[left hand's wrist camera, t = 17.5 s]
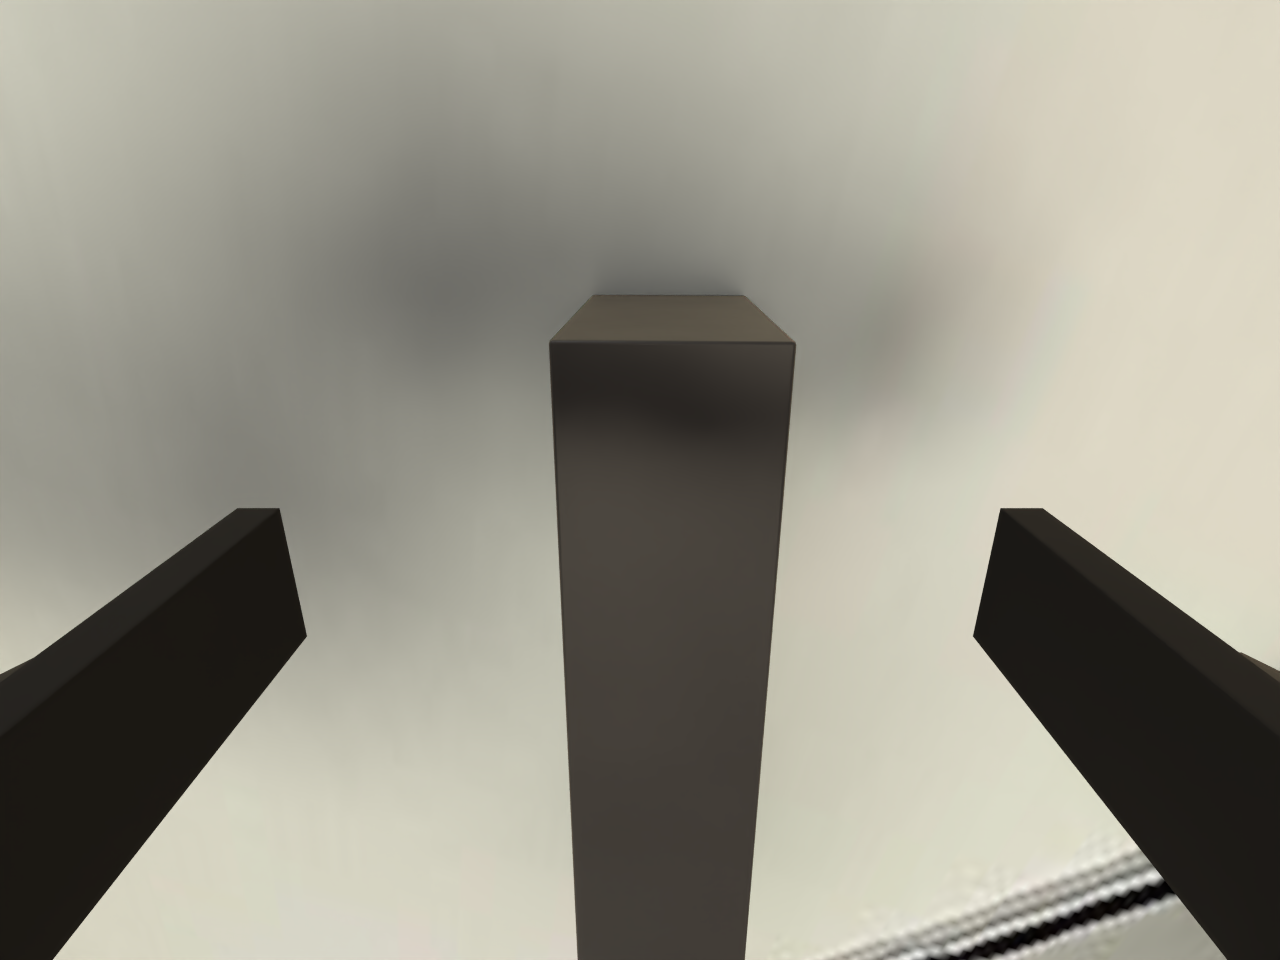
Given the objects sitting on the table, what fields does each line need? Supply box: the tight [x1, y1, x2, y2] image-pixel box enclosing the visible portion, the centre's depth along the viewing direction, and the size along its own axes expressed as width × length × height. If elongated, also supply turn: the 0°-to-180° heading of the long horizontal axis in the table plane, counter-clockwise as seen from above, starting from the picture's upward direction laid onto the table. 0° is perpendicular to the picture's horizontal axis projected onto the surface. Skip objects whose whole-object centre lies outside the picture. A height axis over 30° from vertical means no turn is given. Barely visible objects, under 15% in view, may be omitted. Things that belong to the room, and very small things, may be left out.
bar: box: [549, 295, 796, 960], centre depth 24 cm, size 28×5×9 cm, turn 0°
